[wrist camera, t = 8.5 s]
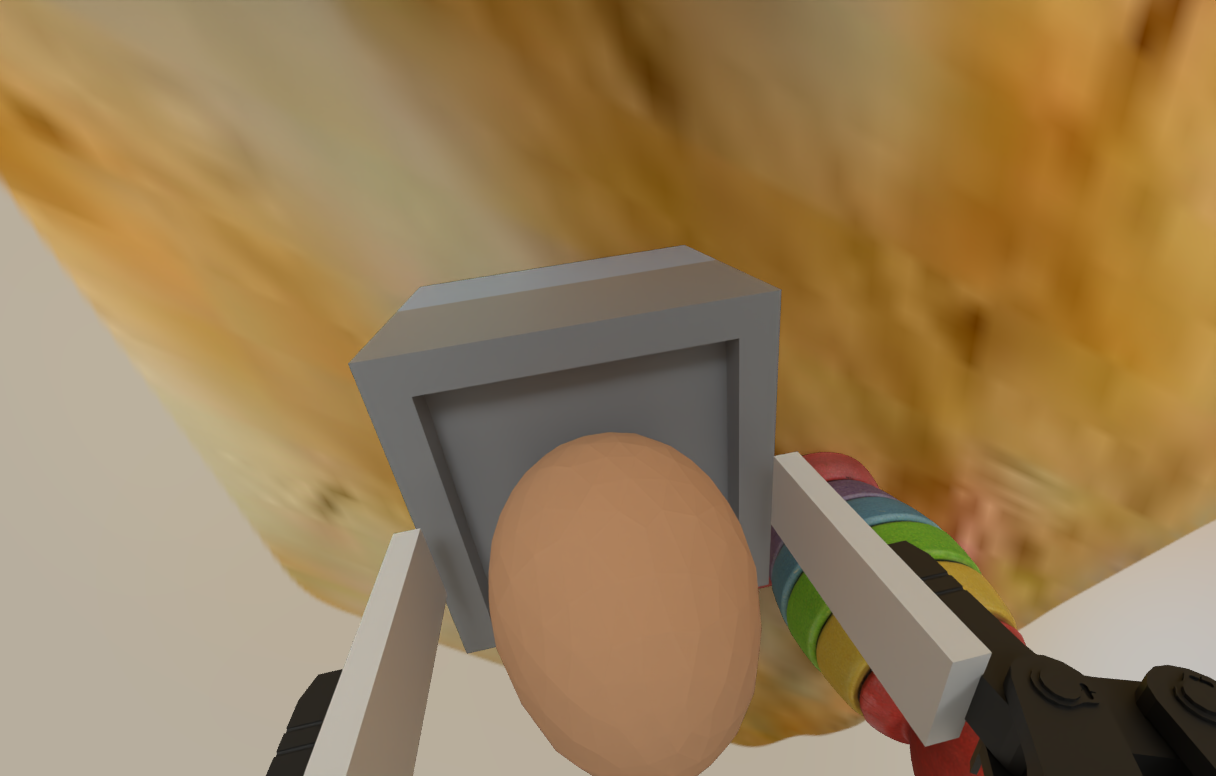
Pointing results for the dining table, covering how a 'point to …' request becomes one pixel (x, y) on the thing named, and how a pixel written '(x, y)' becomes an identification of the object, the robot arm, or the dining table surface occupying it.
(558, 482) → the egg
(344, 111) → the dining table surface
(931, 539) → the stacking bear
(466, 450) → the grey square tray
